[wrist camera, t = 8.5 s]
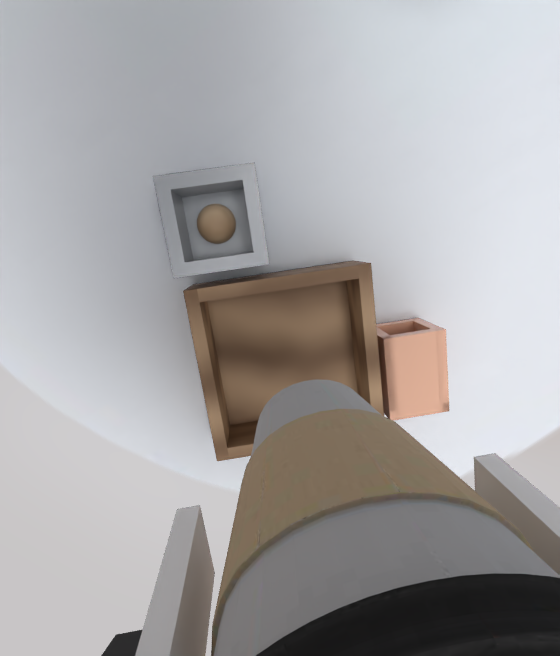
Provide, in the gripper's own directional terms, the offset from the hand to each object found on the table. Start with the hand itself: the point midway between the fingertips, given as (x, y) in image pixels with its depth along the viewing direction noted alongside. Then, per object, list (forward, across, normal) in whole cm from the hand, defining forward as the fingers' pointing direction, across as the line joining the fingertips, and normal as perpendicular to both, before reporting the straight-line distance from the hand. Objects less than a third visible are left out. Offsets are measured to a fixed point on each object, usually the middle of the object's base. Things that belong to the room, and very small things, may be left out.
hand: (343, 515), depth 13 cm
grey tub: (+22, -4, +12) cm, 25 cm away
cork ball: (+21, -4, +12) cm, 24 cm away
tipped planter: (+22, +10, -2) cm, 24 cm away
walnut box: (+22, 0, 0) cm, 22 cm away
